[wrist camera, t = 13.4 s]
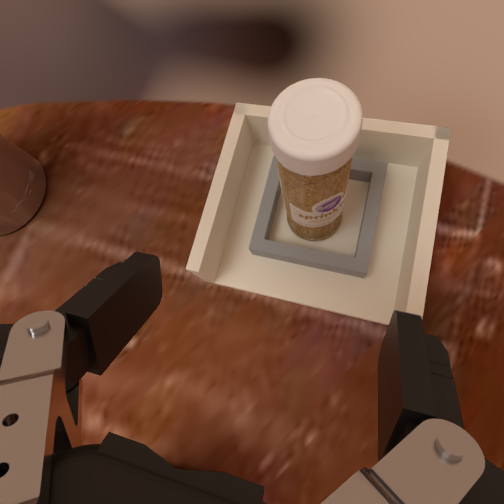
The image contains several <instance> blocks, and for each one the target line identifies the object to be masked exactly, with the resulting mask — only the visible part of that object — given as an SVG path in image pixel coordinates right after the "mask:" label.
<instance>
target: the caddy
mask: <svg viewBox="0 0 504 504" xmlns="http://www.w3.org/2000/svg"><path fill="white" fill-rule="evenodd" d="M270 108H271V106H262V105H254V104H244V103H236V106H235V109H234V112H233V115H232V119H231V122H230V125H229V129H228V132H227V135H226V138H225V142H224V145H223V148H222V151H221V155H220V158H219V161H218V165H217V168H216V171H215V174H214V178H213V181H212V184H211V188H210V191H209V194H208V197H207V201H206V204H205V207H204V211H203V214H202V217H201V220H200V224H199V227H198V230H197V234H196V237H195V240H194V243H193V247H192V250H191V253H190V256H189V260H188V263H187V266H186V270H188V271H189V272H191V273H192V274H194V275H196V276H197V277H199V278H200V279H202V280H203V281H205V282H208V283H212V284H216V285H221V286H225V287H229V288H233V289H237V290H242V291H246V292H250V293H254V294H258V295H262V296H267V297H271V298H275V299H279V300H283V301H288V302H292V303H296V304H300V305H304V306H308V307H313V308H317V309H321V310H325V311H329V312H334V313H338V314H342V315H346V316H350V317H355V318H359V319H363V320H367V321H371V322H375V323H380V324H384V325H389V322H390V320H391V317H392V314H393V312H394V310H398V311H403V312H407V313H411V314H416V315H420V316H421V317H422V318H423V312H424V305H425V298H426V292H427V285H428V279H429V272H430V265H431V259H432V252H433V246H434V239H435V232H436V226H437V219H438V212H439V206H440V199H441V193H442V186H443V179H444V173H445V166H446V159H447V153H448V145H449V140H450V133H451V128H448V127H439V126H431V125H423V124H413V123H406V122H398V121H388V120H381V119H372V118H363V123H362V129H361V135H360V140H359V144H358V147H357V149H356V151H355V153H354V155H353V156H352V162H351V169H350V175H349V180H348V189H347V194H346V199H345V204H344V207H343V210H342V221H341V224H340V226H339V228H338V229H337V231H336V232H335V233H334V234H333V235H332V236H331V237H328V238H326V239H323V240H318V241H308V240H304V239H302V238H300V237H298V236H297V235H295V234H294V233H293V232H292V231H291V229H290V227H289V225H288V222H287V210H286V209H285V205H284V200H283V196H282V191H281V186H280V181H279V176H278V162H277V158H276V157H275V155H274V154H273V151H272V148H271V144H270V139H269V133H268V115H269V111H270Z"/></svg>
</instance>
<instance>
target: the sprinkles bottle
mask: <svg viewBox="0 0 504 504" xmlns="http://www.w3.org/2000/svg"><path fill="white" fill-rule="evenodd" d="M362 123H363V112H362V107H361V104H360V102H359V100H358V98H357V97H356V95H355V94H354V93H353V92H352V91H351V90H350V89H349V88H348V87H346V86H345V85H344V84H342V83H340V82H337V81H335V80H331V79H326V78H310V79H305V80H302V81H299V82H297V83H294V84H292V85H291V86H289V87H287V88H286V89H285V90H284V91H282V92H281V93H280V94H279V96H278V97H277V98H276V99H275V100H274V102H273V104H272V106H271V108H270V111H269V115H268V133H269V139H270V144H271V148H272V151H273V154H274V155H275V157H276V158H277V162H278V176H279V181H280V186H281V191H282V196H283V200H284V205H285V209H286V210H287V222H288V225H289V227H290V229H291V231H292V232H293V233H294V234H295V235H297V236H298V237H300V238H302V239H304V240H308V241H318V240H323V239H326V238H328V237H331V236H332V235H333V234H334V233H335V232H336V231H337V229H338V228H339V226H340V224H341V221H342V210H343V207H344V204H345V199H346V194H347V189H348V180H349V175H350V169H351V162H352V156H353V155H354V153H355V151H356V149H357V147H358V144H359V140H360V135H361V129H362Z"/></svg>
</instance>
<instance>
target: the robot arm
mask: <svg viewBox="0 0 504 504" xmlns="http://www.w3.org/2000/svg"><path fill="white" fill-rule="evenodd" d="M45 190H46V175H45V172H44V169H43V167H42V165H41V164H40V163H39V161H38V160H37V159H35V158H34V157H33V156H31V155H30V154H29V153H27V152H26V151H24V150H23V149H21V148H20V147H19V146H17V145H16V144H14V143H13V142H11V141H10V140H8V139H7V138H6V137H4V136H3V135H2V134H0V236H2V235H6V234H9V233H11V232H14V231H16V230H17V229H19V228H20V227H22V226H23V225H25V224H26V223H27V222H28V221H29V220H30V219H31V218H32V217H33V215H34V214H35V213H36V212H37V210H38V209H39V207H40V205H41V203H42V201H43V198H44V194H45ZM161 298H162V282H161V270H160V261H159V258H158V257H157V256H155V255H150V254H146V253H141V252H135V253H133V254H132V255H131V256H130V257H129V258H128V259H126V260H125V261H124V262H123V263H122V262H119V263H117V264H115V265H112V266H110V267H108V268H106V269H105V270H103V271H102V272H101V273H100V274H99V275H97V276H96V278H95V279H93V280H91V281H90V282H89V283H88V284H87V286H84V287H83V288H82V289H81V290H79V291H78V292H77V293H76V294H75V295H74V296H72V297H71V298H70V299H69V300H68V301H66V302H65V303H64V304H63V305H62V306H60V307H59V308H58V309H57V310H56V311H39V312H35V313H32V314H29V315H27V316H25V317H23V318H22V319H20V320H19V321H17V322H16V323H15V324H0V504H266V503H265V502H264V501H262V500H263V493H264V486H261V485H258V484H255V483H252V482H249V481H247V480H244V479H241V478H238V477H235V476H232V475H230V474H227V473H224V472H212V471H196V470H182V469H177V468H175V467H174V466H172V465H171V464H170V463H168V462H167V461H166V460H164V459H163V458H162V457H160V456H159V455H158V454H156V453H155V452H154V451H152V450H151V449H150V448H148V447H147V446H146V445H144V444H142V443H139V442H136V441H133V440H130V439H127V438H125V437H122V436H119V435H116V434H113V433H110V432H109V433H108V434H107V436H106V437H105V438H104V440H103V441H102V443H101V444H91V445H83V446H82V438H81V423H82V387H83V384H82V379H81V378H82V377H83V376H84V374H85V373H86V372H91V373H94V374H97V375H100V376H101V375H102V374H103V372H104V371H105V370H106V369H107V368H108V366H109V365H110V364H111V363H112V362H113V360H114V359H115V358H116V357H117V356H118V354H119V353H120V352H121V351H122V350H123V348H124V347H125V346H126V345H127V344H128V342H129V341H130V340H131V339H132V337H133V336H134V335H135V334H136V333H137V331H138V330H139V329H140V328H141V327H142V325H143V324H144V323H145V322H146V321H147V319H148V318H149V317H150V316H151V315H152V313H153V312H154V311H155V310H156V309H157V307H158V306H159V304H160V301H161ZM321 504H504V471H503V470H501V469H500V468H498V467H496V466H495V465H493V464H492V463H491V462H489V461H488V460H487V459H486V458H485V457H484V455H483V453H482V450H481V449H480V447H479V445H478V444H477V442H476V441H475V440H474V439H473V438H472V436H471V435H470V434H468V433H467V432H466V431H465V428H464V424H463V420H462V415H461V411H460V406H459V402H458V397H457V393H456V388H455V384H454V381H453V375H452V370H451V368H450V361H449V357H448V352H447V350H446V349H445V347H444V346H443V344H442V343H441V342H440V340H439V339H438V337H437V336H432V335H428V334H424V329H423V323H422V317H421V316H420V315H416V314H411V313H407V312H403V311H398V310H394V312H393V314H392V317H391V320H390V322H389V325H388V328H387V331H386V334H385V337H384V340H383V343H382V346H381V350H380V355H379V363H378V463H377V464H376V465H375V466H374V467H372V468H371V469H369V470H368V469H367V468H362V469H360V470H359V471H357V472H356V473H355V474H354V475H352V476H351V477H350V478H349V479H348V480H347V481H346V482H345V483H343V484H342V485H341V486H340V487H339V488H338V489H337V490H336V491H334V492H333V493H332V494H331V495H330V496H329V497H328V498H327V499H325V500H324V501H323V502H322V503H321Z"/></svg>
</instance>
